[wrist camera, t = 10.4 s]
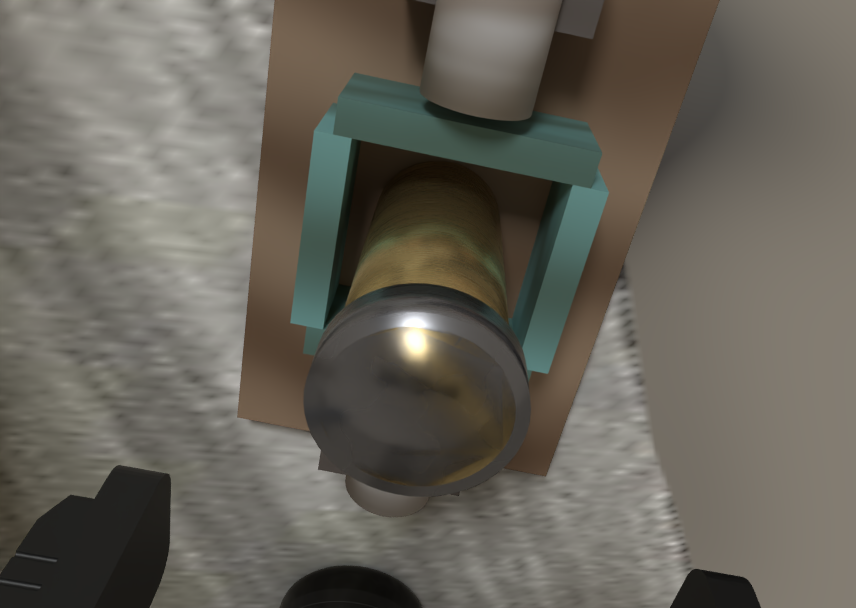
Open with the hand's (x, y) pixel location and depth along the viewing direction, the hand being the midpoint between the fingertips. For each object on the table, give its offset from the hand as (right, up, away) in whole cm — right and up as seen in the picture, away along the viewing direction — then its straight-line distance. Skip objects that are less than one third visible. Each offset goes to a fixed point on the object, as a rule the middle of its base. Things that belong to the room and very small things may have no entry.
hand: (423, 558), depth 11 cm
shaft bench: (+1, +7, +13) cm, 15 cm away
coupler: (0, +7, +12) cm, 14 cm away
